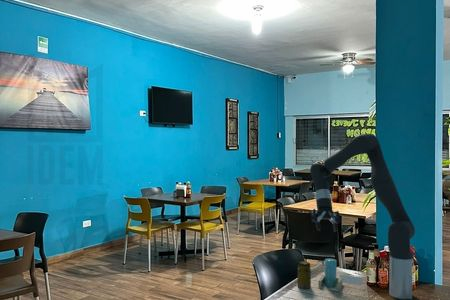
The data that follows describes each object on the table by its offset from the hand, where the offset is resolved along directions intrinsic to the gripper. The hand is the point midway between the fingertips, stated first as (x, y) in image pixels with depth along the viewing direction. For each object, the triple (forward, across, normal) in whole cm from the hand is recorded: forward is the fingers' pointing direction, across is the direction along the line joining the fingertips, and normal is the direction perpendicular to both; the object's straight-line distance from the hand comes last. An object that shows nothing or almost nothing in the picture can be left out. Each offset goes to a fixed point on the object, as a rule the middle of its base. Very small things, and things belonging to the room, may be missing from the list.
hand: (327, 230), depth 196 cm
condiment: (+27, -12, +4) cm, 30 cm away
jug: (+26, -1, +3) cm, 26 cm away
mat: (+22, +13, +9) cm, 27 cm away
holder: (+26, 0, +4) cm, 26 cm away
